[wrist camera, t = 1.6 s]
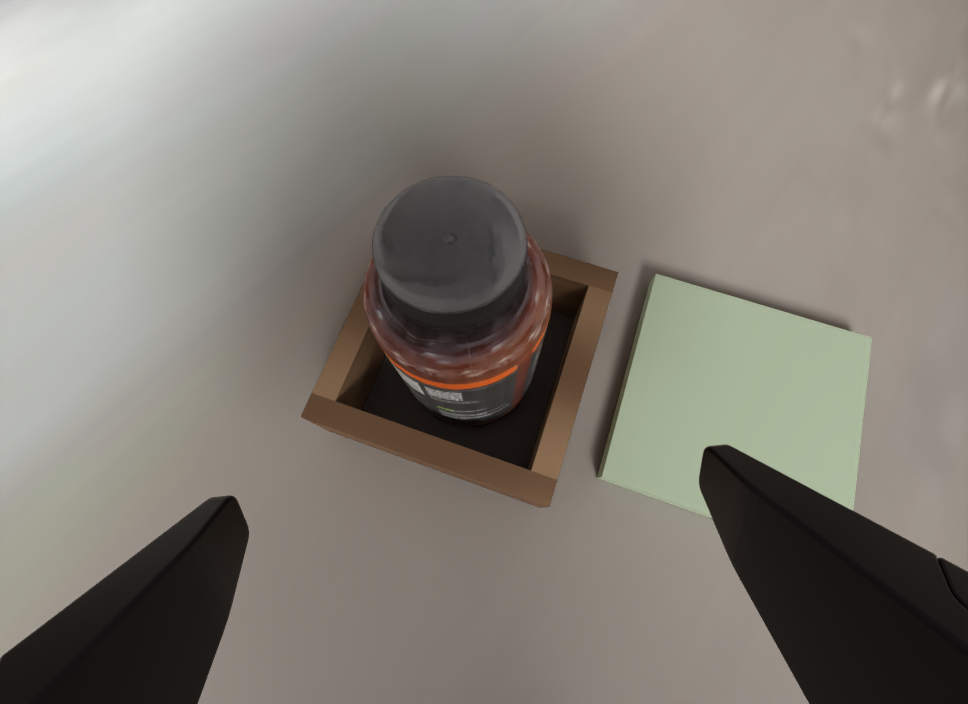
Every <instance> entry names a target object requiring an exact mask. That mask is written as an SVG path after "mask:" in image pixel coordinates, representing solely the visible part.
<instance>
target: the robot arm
mask: <svg viewBox="0 0 968 704" xmlns="http://www.w3.org/2000/svg"><path fill="white" fill-rule="evenodd" d="M699 487H700V490H701V493H702V495H703V498H704V500H705V502H706V505H707V507H708V509H709V512H710V514H711V516H712V519H713V521H714V524H715V526H716V528H717V531H718V533H719V535H720V538H721V540H722V542H723V545H724V547H725V549H726V552H727V554H728V556H729V558H730V561H731V563H732V565H733V567H734V569H735V571H736V572H737V574H738V576H739V578H740V580H741V582H742V583H743V585H744V587H745V589H746V591H747V592H748V594H749V596H750V598H751V600H752V601H753V603H754V605H755V607H756V609H757V610H758V612H759V614H760V616H761V618H762V619H763V621H764V623H765V625H766V627H767V628H768V630H769V632H770V634H771V636H772V637H773V639H774V641H775V643H776V645H777V646H778V648H779V650H780V652H781V654H782V655H783V657H784V659H785V661H786V663H787V664H788V666H789V668H790V670H791V672H792V673H793V675H794V677H795V679H796V681H797V682H798V684H799V686H800V688H801V690H802V691H803V693H804V695H805V697H806V699H807V700H808V702H809V704H968V572H967V571H966V570H964V569H962V568H960V567H958V566H956V565H954V564H952V563H951V562H949V561H947V560H945V559H943V558H937V557H936V555H935V554H933V553H931V552H930V551H928V550H926V549H924V548H922V547H920V546H918V545H916V544H915V543H913V542H911V541H909V540H907V539H905V538H903V537H901V536H899V535H898V534H896V533H894V532H892V531H890V530H888V529H886V528H884V527H883V526H881V525H879V524H877V523H875V522H873V521H871V520H869V519H867V518H866V517H864V516H862V515H860V514H858V513H856V512H854V511H852V510H851V509H849V508H847V507H845V506H843V505H841V504H839V503H837V502H836V501H834V500H832V499H830V498H828V497H826V496H824V495H822V494H820V493H819V492H817V491H815V490H813V489H811V488H809V487H807V486H805V485H804V484H802V483H800V482H798V481H796V480H794V479H792V478H790V477H788V476H787V475H785V474H783V473H781V472H779V471H777V470H775V469H773V468H772V467H770V466H768V465H766V464H764V463H762V462H760V461H758V460H756V459H755V458H753V457H751V456H749V455H747V454H745V453H743V452H741V451H740V450H738V449H736V448H734V447H732V446H730V445H727V444H722V445H713V446H708V447H706V448H705V449H704V451H703V456H702V462H701V468H700V474H699ZM248 538H249V529H248V525H247V522H246V520H245V518H244V515H243V513H242V510H241V508H240V506H239V503H238V501H237V499H236V498H235V497H234V496H220V497H213V498H210V499H208V500H206V501H205V502H204V503H202V504H201V505H200V506H199V507H197V508H196V509H195V510H193V511H192V512H191V513H189V514H188V515H187V516H185V517H184V518H183V519H181V520H180V521H179V522H178V523H176V524H175V525H174V526H172V527H171V528H170V529H168V530H167V531H166V532H164V533H163V534H162V535H160V536H159V537H158V538H157V539H155V540H154V541H153V542H151V543H150V544H149V545H147V546H146V547H145V548H143V549H142V550H141V551H139V552H138V553H137V554H135V555H134V556H133V557H132V558H130V559H129V560H128V561H126V562H125V563H124V564H122V565H121V566H120V567H118V568H117V569H116V570H114V571H113V572H112V573H110V574H109V575H108V576H107V577H105V578H104V579H103V580H101V581H100V582H99V583H97V584H96V585H95V586H93V587H92V588H91V589H89V590H88V591H87V592H86V593H84V594H83V595H82V596H80V597H79V598H78V599H76V600H75V601H74V602H72V603H71V604H70V605H68V606H67V607H66V608H64V609H63V610H62V611H61V612H59V613H58V614H57V615H55V616H54V617H53V618H51V619H50V620H49V621H47V622H46V623H45V624H43V625H42V626H41V627H39V628H38V629H37V630H36V631H34V632H33V633H32V634H30V635H29V636H28V637H26V638H25V639H24V640H22V641H21V642H20V643H18V644H17V645H16V646H14V647H13V648H12V649H11V650H9V651H8V652H7V653H5V654H4V655H3V656H2V657H1V659H0V704H198V701H199V698H200V695H201V693H202V690H203V687H204V684H205V682H206V679H207V676H208V673H209V671H210V668H211V665H212V662H213V660H214V657H215V654H216V651H217V649H218V646H219V643H220V640H221V638H222V635H223V632H224V629H225V626H226V623H227V620H228V617H229V613H230V610H231V606H232V602H233V598H234V594H235V590H236V586H237V582H238V579H239V575H240V571H241V567H242V563H243V559H244V555H245V551H246V547H247V543H248Z"/></svg>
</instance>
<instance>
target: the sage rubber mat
mask: <svg viewBox="0 0 968 704" xmlns="http://www.w3.org/2000/svg"><path fill="white" fill-rule="evenodd" d="M871 341H872V338H871V337H867V336H864V335H861V334H857V333H854V332H851V331H847V330H844V329H841V328H837V327H834V326H830V325H827V324H824V323H820V322H817V321H814V320H810V319H807V318H804V317H800V316H797V315H793V314H790V313H787V312H783V311H780V310H777V309H773V308H770V307H767V306H763V305H760V304H756V303H753V302H750V301H746V300H743V299H740V298H736V297H733V296H730V295H726V294H723V293H719V292H716V291H713V290H709V289H706V288H703V287H699V286H696V285H692V284H689V283H686V282H682V281H679V280H676V279H672V278H669V277H666V276H662V275H659V274H655V276H654V277H653V279H652V280H651V281H650V283H649V286H648V290H647V294H646V298H645V301H644V305H643V309H642V312H641V316H640V320H639V324H638V327H637V331H636V335H635V338H634V342H633V346H632V350H631V353H630V357H629V361H628V364H627V368H626V372H625V376H624V379H623V383H622V387H621V390H620V394H619V398H618V402H617V405H616V409H615V413H614V416H613V420H612V424H611V428H610V431H609V435H608V439H607V442H606V446H605V450H604V454H603V457H602V461H601V465H600V468H599V472H598V476H597V478H598V479H601V480H604V481H607V482H609V483H612V484H615V485H618V486H621V487H624V488H627V489H629V490H632V491H635V492H638V493H641V494H644V495H646V496H649V497H652V498H655V499H658V500H661V501H664V502H666V503H669V504H672V505H675V506H678V507H681V508H683V509H686V510H689V511H692V512H695V513H698V514H701V515H703V516H706V517H709V518H712V516H711V514H710V512H709V509H708V507H707V505H706V502H705V500H704V498H703V495H702V493H701V490H700V487H699V474H700V468H701V462H702V456H703V451H704V449H705V448H706V447H708V446H713V445H722V444H727V445H730V446H732V447H734V448H736V449H738V450H740V451H741V452H743V453H745V454H747V455H749V456H751V457H753V458H755V459H756V460H758V461H760V462H762V463H764V464H766V465H768V466H770V467H772V468H773V469H775V470H777V471H779V472H781V473H783V474H785V475H787V476H788V477H790V478H792V479H794V480H796V481H798V482H800V483H802V484H804V485H805V486H807V487H809V488H811V489H813V490H815V491H817V492H819V493H820V494H822V495H824V496H826V497H828V498H830V499H832V500H834V501H836V502H837V503H839V504H841V505H843V506H845V507H847V508H849V509H851V510H852V511H853V508H854V499H855V490H856V481H857V471H858V462H859V453H860V443H861V434H862V425H863V415H864V406H865V397H866V388H867V378H868V369H869V360H870V350H871Z"/></svg>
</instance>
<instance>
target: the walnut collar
mask: <svg viewBox="0 0 968 704" xmlns="http://www.w3.org/2000/svg"><path fill="white" fill-rule="evenodd" d="M540 250H541V251H542V253H543V255H544V257H545V259H546V262H547V264H548V267H549V270H550V274H551V280H552V307H551V310H553V311H556V312H559V313H562V314H565V315H569V316H572V317H575V319H574V322H573V325H572V328H571V331H570V335H569V338H568V341H567V344H566V347H565V350H564V354H563V357H562V360H561V363H560V366H559V370H558V373H557V376H556V379H555V382H554V385H553V389H552V392H551V395H550V398H549V401H548V405H547V408H546V411H545V414H544V417H543V420H542V424H541V427H540V430H539V433H538V436H537V440H536V443H535V446H534V449H533V452H532V455H531V459H530V462H529V465H528V468H527V469H525V468H522V467H519V466H516V465H514V464H511V463H508V462H505V461H502V460H500V459H497V458H494V457H491V456H488V455H485V454H483V453H480V452H477V451H474V450H471V449H469V448H466V447H463V446H460V445H457V444H454V443H452V442H449V441H446V440H443V439H440V438H438V437H435V436H432V435H429V434H426V433H423V432H421V431H418V430H415V429H412V428H409V427H407V426H404V425H401V424H398V423H395V422H393V421H390V420H387V419H384V418H381V417H378V416H376V415H373V414H370V413H367V412H364V411H362V408H363V406H364V403H365V401H366V399H367V397H368V394H369V392H370V390H371V387H372V385H373V383H374V380H375V378H376V376H377V374H378V371H379V369H380V367H381V364H382V362H383V360H384V357H385V355H386V354H385V353H384V351H383V350H382V348H381V347H380V345H379V344H378V342H377V340H376V339H375V337H374V335H373V333H372V331H371V329H370V326H369V323H368V320H367V318H366V315H365V309H364V301H363V292H364V284H363V286H362V288H361V290H360V292H359V294H358V296H357V298H356V300H355V303H354V305H353V307H352V309H351V311H350V313H349V315H348V317H347V320H346V322H345V324H344V326H343V328H342V330H341V332H340V334H339V337H338V339H337V341H336V343H335V345H334V347H333V349H332V351H331V353H330V356H329V358H328V360H327V362H326V364H325V366H324V368H323V370H322V373H321V375H320V377H319V379H318V381H317V383H316V385H315V387H314V390H313V392H312V394H311V396H310V398H309V400H308V402H307V404H306V406H305V409H304V411H303V413H302V415H301V417H302V418H304V419H306V420H308V421H310V422H312V423H314V424H316V425H318V426H320V427H322V428H324V429H326V430H328V431H331V432H333V433H336V434H339V435H342V436H344V437H347V438H350V439H353V440H355V441H358V442H361V443H364V444H366V445H369V446H372V447H375V448H377V449H380V450H383V451H386V452H388V453H391V454H394V455H397V456H399V457H402V458H405V459H408V460H410V461H413V462H416V463H419V464H421V465H424V466H427V467H430V468H432V469H435V470H438V471H441V472H443V473H446V474H449V475H452V476H454V477H457V478H460V479H463V480H465V481H468V482H471V483H474V484H476V485H479V486H482V487H485V488H488V489H490V490H493V491H496V492H499V493H501V494H504V495H507V496H510V497H512V498H515V499H518V500H521V501H523V502H526V503H529V504H532V505H534V506H537V507H549V506H550V503H551V499H552V496H553V493H554V489H555V486H556V482H557V479H558V476H559V472H560V469H561V465H562V462H563V459H564V455H565V452H566V448H567V445H568V442H569V438H570V435H571V431H572V428H573V425H574V421H575V418H576V414H577V411H578V407H579V404H580V401H581V397H582V394H583V390H584V387H585V384H586V380H587V377H588V373H589V370H590V367H591V363H592V360H593V356H594V353H595V350H596V346H597V343H598V339H599V336H600V333H601V329H602V326H603V322H604V319H605V316H606V312H607V309H608V305H609V302H610V299H611V295H612V292H613V288H614V285H615V281H616V278H617V275H618V272H615V271H612V270H609V269H605V268H602V267H599V266H595V265H592V264H589V263H585V262H582V261H579V260H575V259H572V258H569V257H565V256H562V255H559V254H555V253H552V252H548V251H545V250H542V249H540ZM364 283H365V281H364Z"/></svg>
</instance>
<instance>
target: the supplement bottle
mask: <svg viewBox="0 0 968 704" xmlns="http://www.w3.org/2000/svg"><path fill="white" fill-rule="evenodd" d="M372 253H373V257H372V259H371V260H370V263H369V266H368V268H367V272H366V277H365V283H364V292H363V301H364V309H365V315H366V318H367V320H368V323H369V326H370V329H371V331H372V333H373V335H374V337H375V339H376V340H377V342H378V344H379V345H380V347H381V348H382V350H383V351H384V353H385V354H386V356H387V357H388V359H389V360H390V362H391V363H392V364H393V366H394V367H395V368H396V370H397V371H398V373H399V374H400V376H401V377H402V378H403V380H404V382H405V383H406V384H407V386H408V387H409V389H410V390H411V392H412V393H413V394H414V396H415V397H416V398H417V400H418V401H419V402H420V403H421V404H422V406H423V407H425V408H426V409H427V410H428V411H429V412H431V413H432V414H433V415H434V416H436V417H437V418H440V419H442V420H444V421H446V422H450V423H453V424H458V425H464V426H472V425H482V424H487V423H490V422H493V421H495V420H497V419H499V418H501V417H503V416H504V415H506V414H507V413H509V412H510V411H511V410H512V409H514V408H515V407H516V406H517V405H518V403H519V402H520V401H521V400H522V399H523V397H524V396H525V394H526V392H527V390H528V389H529V387H530V384H531V382H532V379H533V375H534V372H535V368H536V365H537V361H538V357H539V354H540V351H541V347H542V343H543V340H544V337H545V334H546V331H547V325H548V322H549V318H550V313H551V307H552V280H551V274H550V270H549V267H548V264H547V262H546V259H545V257H544V255H543V253H542V251H541V250H540V248H539V246H538V244H537V243H536V242H535V240H534V239H533V238H532V237H531V235H530V234H529V233H528V232H527V231H526V229H525V226H524V223H523V220H522V217H521V216H520V214H519V212H518V210H517V209H516V207H515V206H514V204H513V203H512V202H511V201H510V200H509V199H508V198H507V197H506V196H505V195H504V194H503V193H502V192H501V191H499V190H497V189H496V188H494V187H493V186H491V185H490V184H488V183H485V182H482V181H479V180H476V179H473V178H469V177H460V176H443V177H435V178H431V179H427V180H424V181H421V182H419V183H417V184H414V185H412V186H410V187H409V188H407V189H405V190H404V191H402V192H401V193H400V194H398V195H397V196H396V197H395V198H394V199H393V200H392V201H391V202H390V204H389V205H388V206H387V207H386V208H385V209H384V210H383V212H382V214H381V216H380V218H379V219H378V221H377V224H376V227H375V229H374V232H373V241H372Z"/></svg>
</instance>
